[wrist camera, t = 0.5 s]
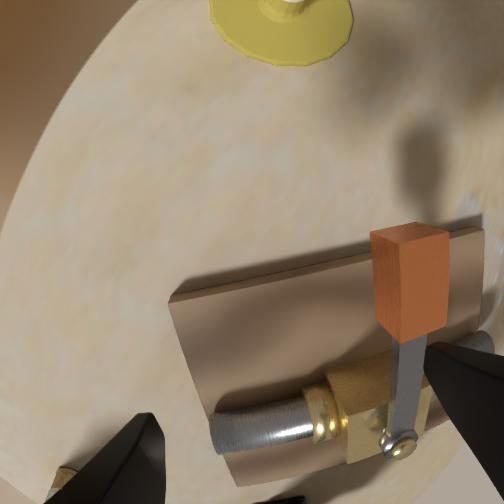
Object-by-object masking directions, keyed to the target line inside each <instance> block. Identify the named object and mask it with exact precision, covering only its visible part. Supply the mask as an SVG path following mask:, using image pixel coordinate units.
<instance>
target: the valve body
mask: <svg viewBox="0 0 504 504" xmlns="http://www.w3.org/2000/svg"><path fill="white" fill-rule="evenodd" d="M452 344H454V345H458V346H463V347H467V348H471V349H475V350H479V351H484V352H488V353H492V354H494V352H495V351H494V344H493V341H492V339H491V337H490V336H489V334H488V333H486V332H485V331H482V330H480V331H477V332H475V333H473V334H471V335H469V336H467V337H465V338H463V339H461V340H458V341H456V342H454V343H452ZM391 360H392V349H390V350H387V351H384V352H381V353H378V354H375V355H372V356H369V357H366V358H363V359H360V360H357V361H353V362H350V363H347V364H343V365H340V366H337V367H333V368H329V369H326V370H324V380H325V381H324V382H321V383H317V384H313V385H309V386H305V387H301V393H302V396H299V397H294V398H290V399H286V400H282V401H277V402H273V403H268V404H263V405H259V406H254V407H248V408H243V409H238V410H232V411H226V412H220V413H213V414H210V416H209V427H210V434H211V439H212V442H213V446H214V448H215V451H216V453H217V454H218V455H222V454H229V453H235V452H242V451H248V450H253V449H259V448H264V447H269V446H274V445H279V444H283V443H288V442H292V441H296V440H300V439H304V438H308V437H311V438H312V441H313V443H314V444H316V443H320V442H323V441H327V440H330V439H334V438H336V439H337V441H338V444H339V446H340V448H341V451H342V453H343V455H344V457H345V460H346V462H347V464H350V463H353V462H356V461H359V460H362V459H365V458H368V457H371V456H373V455H376V454H379V453H381V452H382V450H381V448H380V446H379V444H378V441H379V438H380V437H381V435H382V434H383V433H384V432H385V431H386V425H387V416H388V406H389V394H390V380H391ZM436 397H437V396H436V394H435V393H434V391H433V389H432V387H431V385H430V384H429V382H428V380H427V378H426V377H425V374H424V371H423V378H422V386H421V393H420V399H419V405H418V411H417V416H416V422H415V427H414V430H415V431H416V433H417V434H418V437H419V436H421V435H423V432H424V428H425V423H426V419H427V414H428V409H429V404H430V402H431V401H433V400H435V399H436Z"/></svg>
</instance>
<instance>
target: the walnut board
mask: <svg viewBox="0 0 504 504" xmlns="http://www.w3.org/2000/svg"><path fill="white" fill-rule="evenodd" d="M483 271H484V229H480V228H477V227H473V226H472V227H469V228H465V229H461V230H457V231H453V232H449V296H448V312H447V324H446V326H445V327H442V328H440V329H438V330H435V331H433V332H430V333H428V334H427V341H426V346H427V345H428V344H431V343H433V342H436V341H442V342H446V343H450V344H452V343H454V342H456V341H458V340H461V339H463V338H465V337H467V336H469V335H471V334H473V333H475V332H477V331H478V324H479V316H480V308H481V298H482V286H483ZM168 306H169V310H170V313H171V316H172V319H173V323H174V326H175V329H176V332H177V335H178V338H179V341H180V344H181V347H182V350H183V353H184V356H185V359H186V362H187V365H188V368H189V371H190V373H191V376H192V379H193V382H194V384H195V387H196V390H197V393H198V395H199V398H200V400H201V403H202V406H203V408H204V411H205V413H206V416H207V418H208V421H209V416H210V414H213V413H220V412H226V411H232V410H238V409H243V408H248V407H254V406H259V405H263V404H268V403H273V402H277V401H282V400H286V399H290V398H294V397H299V396H302V393H301V387H305V386H309V385H313V384H317V383H321V382H324V381H325V380H324V370H326V369H329V368H333V367H337V366H340V365H343V364H347V363H350V362H353V361H357V360H360V359H363V358H366V357H369V356H372V355H375V354H378V353H381V352H384V351H387V350H390V349H392V335H391V334H390V333H389V332H388V331H387V330H386V329H385V328H384V327H383V326H382V325H381V324H380V323H379V322H378V321H377V320H376V319H375V298H374V280H373V265H372V253H371V252H368V253H364V254H359V255H355V256H351V257H347V258H342V259H338V260H334V261H329V262H325V263H320V264H316V265H311V266H307V267H303V268H298V269H293V270H289V271H284V272H280V273H275V274H271V275H266V276H261V277H257V278H252V279H247V280H242V281H238V282H233V283H228V284H223V285H218V286H213V287H208V288H204V289H199V290H194V291H189V292H184V293H179V294H173V295H171V297H170V299H169V302H168ZM449 419H450V418H449V417H448V415H447V414H446V412H445V411H444V409H443V407H442V405H441V404H440V402H439V400H438V398H437V397H436V399H435V400H433V401H431V402H430V404H429V409H428V414H427V419H426V423H425V428H424V432H425V431H427V430H429V429H431V428H433V427H435V426H437V425H439V424H441V423H443V422H445V421H447V420H449ZM223 457H224V459H225V461H226V464H227V466H228V468H229V470H230V472H231V475H232V477H233V479H234V481H235V483H236V485H237V487H242V486H249V485H255V484H261V483H266V482H272V481H277V480H282V479H286V478H291V477H295V476H300V475H304V474H308V473H312V472H315V471H319V470H323V469H326V468H330V467H333V466H337V465H340V464H343V463H346V460H345V457H344V455H343V453H342V451H341V448H340V446H339V444H338V441H337V439H336V438H334V439H330V440H327V441H323V442H320V443H316V444H314V443H313V441H312V438H311V437H308V438H304V439H300V440H296V441H292V442H288V443H283V444H279V445H274V446H269V447H264V448H259V449H253V450H248V451H242V452H235V453H229V454H223Z"/></svg>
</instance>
